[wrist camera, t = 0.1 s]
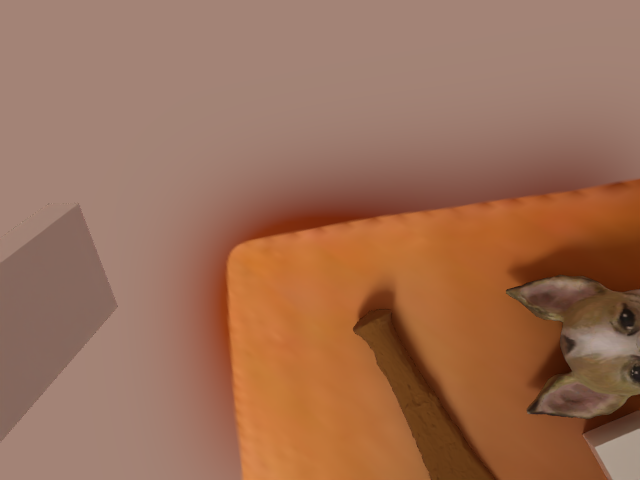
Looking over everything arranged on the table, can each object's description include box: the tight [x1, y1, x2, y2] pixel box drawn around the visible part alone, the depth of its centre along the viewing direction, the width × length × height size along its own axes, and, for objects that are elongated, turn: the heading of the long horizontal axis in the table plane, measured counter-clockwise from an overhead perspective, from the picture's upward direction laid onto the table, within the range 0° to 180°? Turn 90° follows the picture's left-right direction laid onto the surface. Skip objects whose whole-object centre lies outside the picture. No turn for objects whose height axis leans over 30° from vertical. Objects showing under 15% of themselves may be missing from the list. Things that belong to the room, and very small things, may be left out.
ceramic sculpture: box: [506, 275, 640, 419], centre depth 38 cm, size 11×9×15 cm
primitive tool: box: [353, 309, 496, 480], centre depth 43 cm, size 19×6×4 cm, turn 31°
